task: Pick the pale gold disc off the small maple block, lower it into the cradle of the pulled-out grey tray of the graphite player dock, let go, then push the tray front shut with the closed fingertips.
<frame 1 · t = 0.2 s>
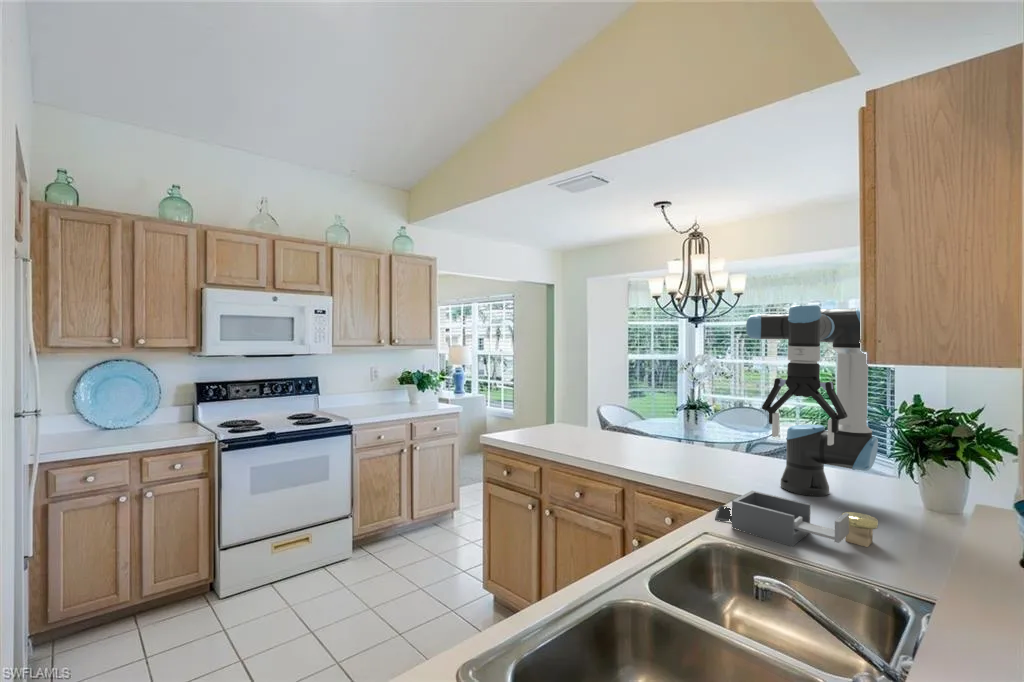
hand: (801, 440, 135), 27 cm above the worktop, tool pointing down, fingers open, 13 cm apart
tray: (813, 520, 133), point 6 cm above the worktop, slide at 10.0 cm
pedestal: (859, 541, 134), on the worktop
disc: (859, 523, 134), point 5 cm above the worktop, touching pedestal
cell phone: (729, 516, 153), on the worktop
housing: (770, 530, 142), on the worktop
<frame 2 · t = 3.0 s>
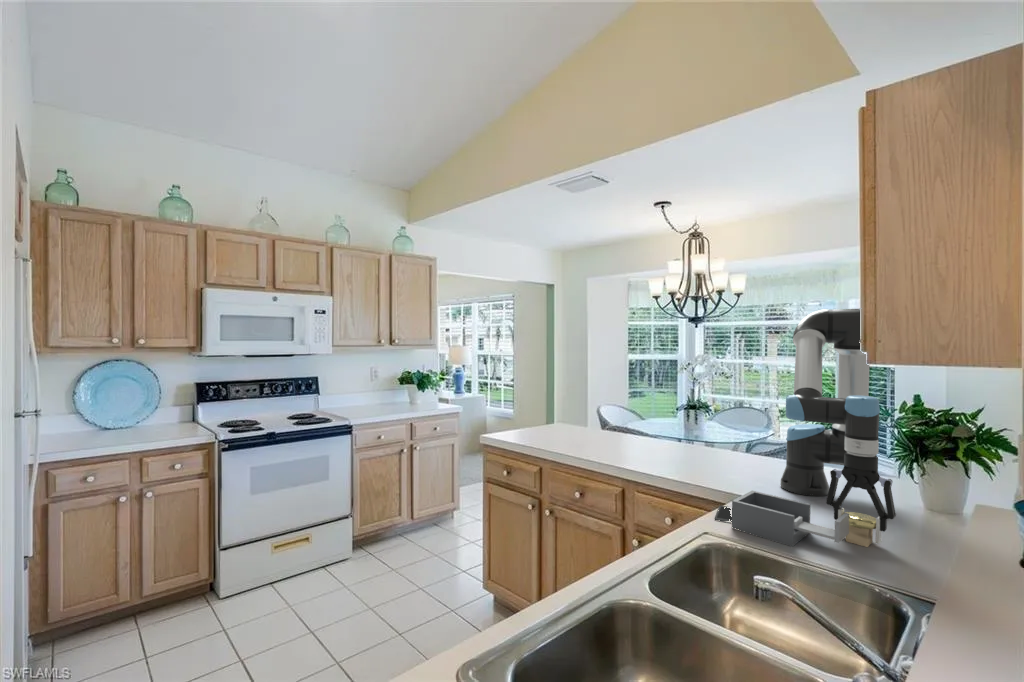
hand: (859, 537, 134), 1 cm above the worktop, tool pointing down, fingers closed on disc, 8 cm apart
disc: (859, 523, 134), point 5 cm above the worktop, touching gripper, pedestal
everything else where it was.
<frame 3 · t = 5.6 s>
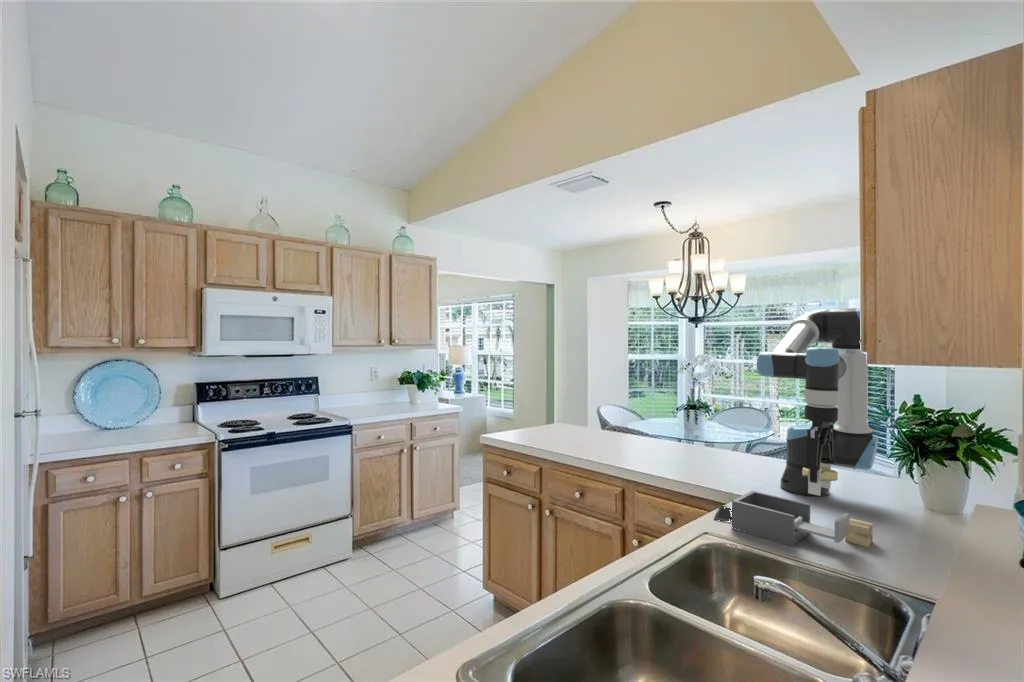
hand: (819, 490, 132), 14 cm above the worktop, tool pointing down, fingers closed on disc, 8 cm apart
disc: (819, 476, 132), point 18 cm above the worktop, touching gripper
everything else where it was.
when the fingers open (2 cm above the worktop, at t = 8.2 s): disc drops 1 cm, resting on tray.
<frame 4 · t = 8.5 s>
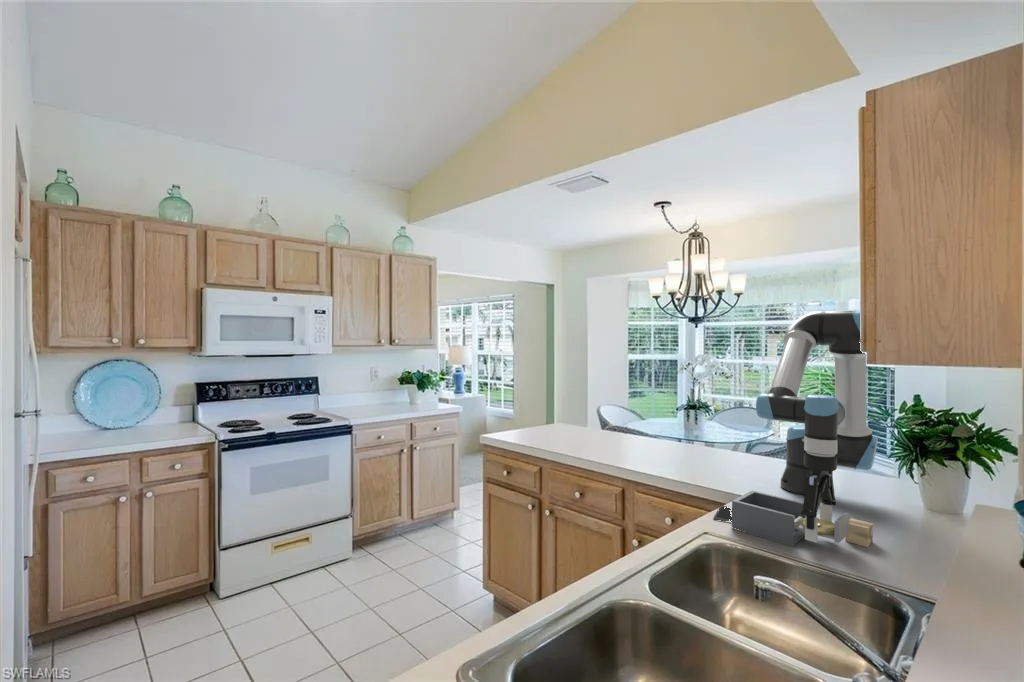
hand: (818, 534, 133), 3 cm above the worktop, tool pointing down, fingers open, 11 cm apart
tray: (813, 520, 133), point 6 cm above the worktop, slide at 10.0 cm, touching disc
disc: (818, 529, 133), point 4 cm above the worktop, touching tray
everything else where it was.
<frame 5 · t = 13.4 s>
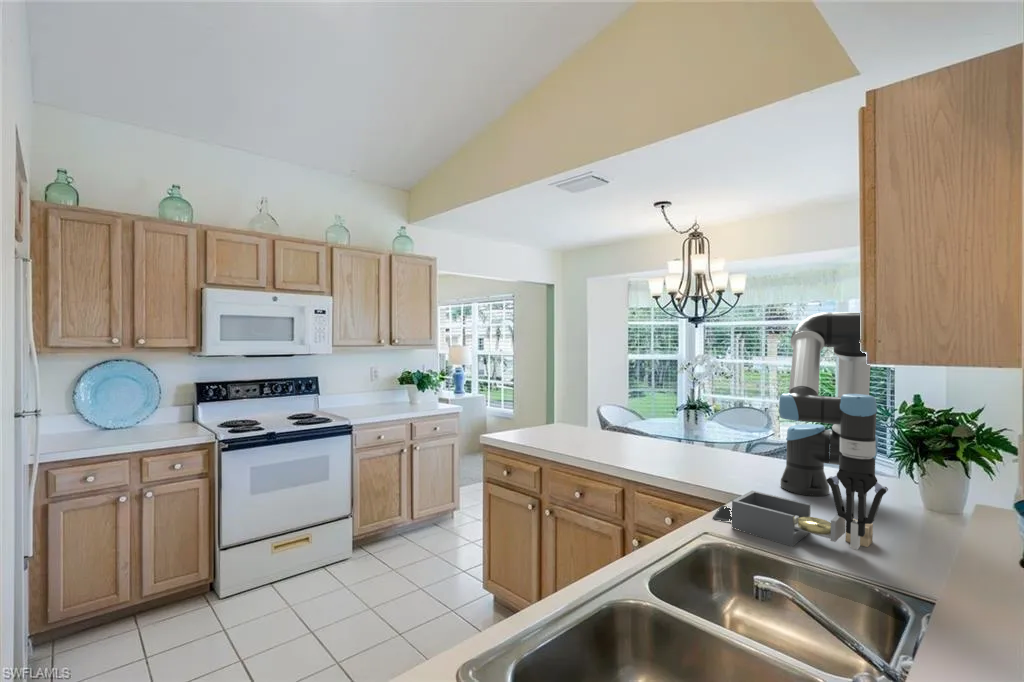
hand: (855, 547, 127), 2 cm above the worktop, tool pointing down, fingers closed
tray: (810, 519, 134), point 6 cm above the worktop, slide at 9.1 cm, touching disc, gripper
everything else where it was.
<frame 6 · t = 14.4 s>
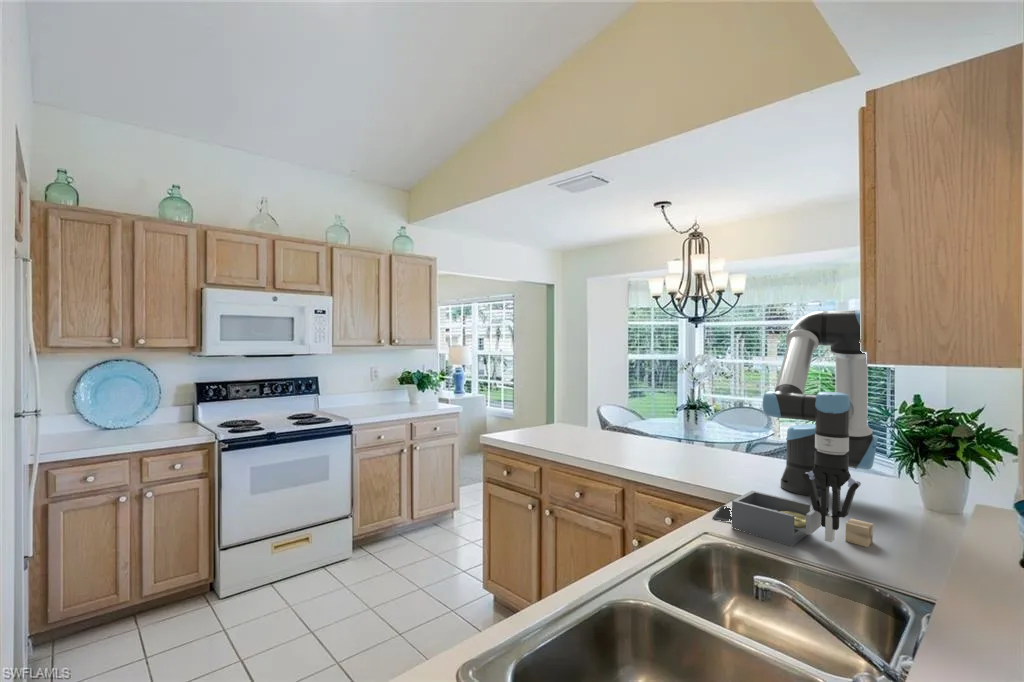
hand: (829, 540, 131), 2 cm above the worktop, tool pointing down, fingers closed
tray: (787, 513, 138), point 6 cm above the worktop, slide at 3.5 cm, touching disc, gripper
disc: (792, 522, 137), point 4 cm above the worktop, touching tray
everything else where it was.
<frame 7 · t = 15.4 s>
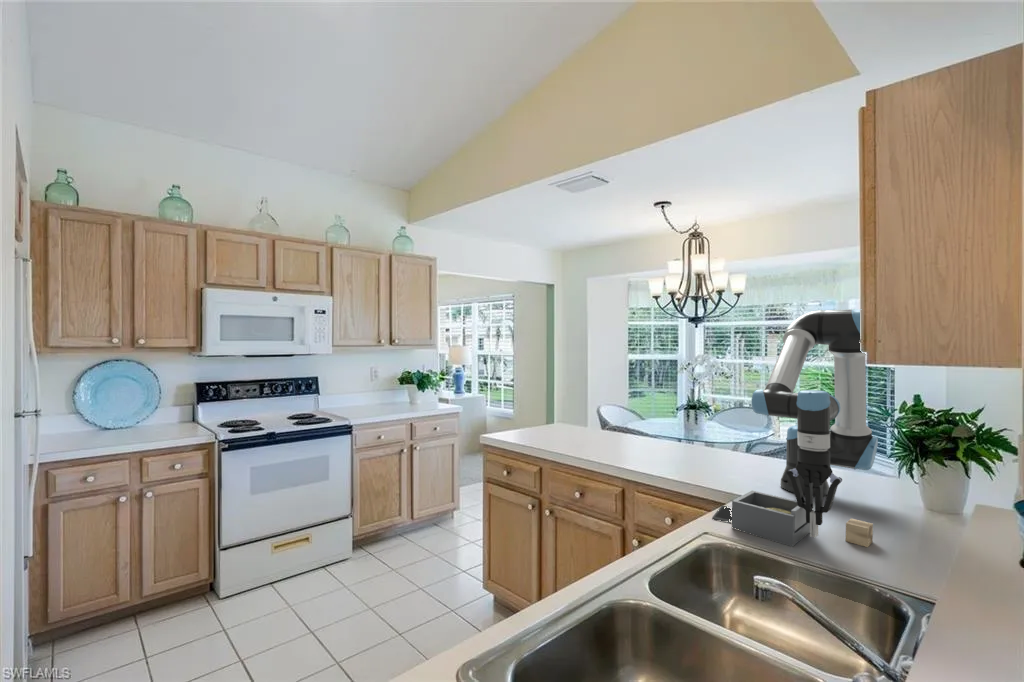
hand: (814, 535, 133), 2 cm above the worktop, tool pointing down, fingers closed
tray: (773, 510, 141), point 6 cm above the worktop, slide at -0.2 cm, touching disc, gripper
disc: (778, 518, 140), point 4 cm above the worktop, touching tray
everything else where it was.
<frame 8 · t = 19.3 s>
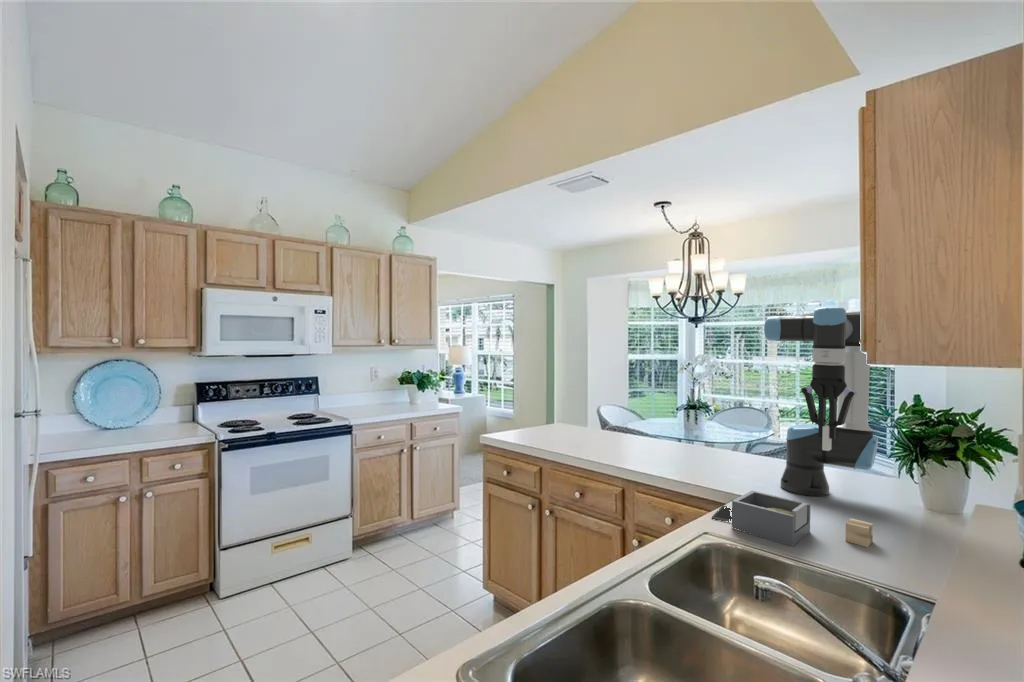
hand: (826, 449, 136), 24 cm above the worktop, tool pointing down, fingers closed
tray: (774, 510, 141), point 6 cm above the worktop, slide at 0.0 cm, touching disc
everything else where it was.
at the end: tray slide at 0.0 cm; disc inside the target area on the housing (1.9 cm from its centre), point 4.0 cm above the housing's base; the gripper is holding nothing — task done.
